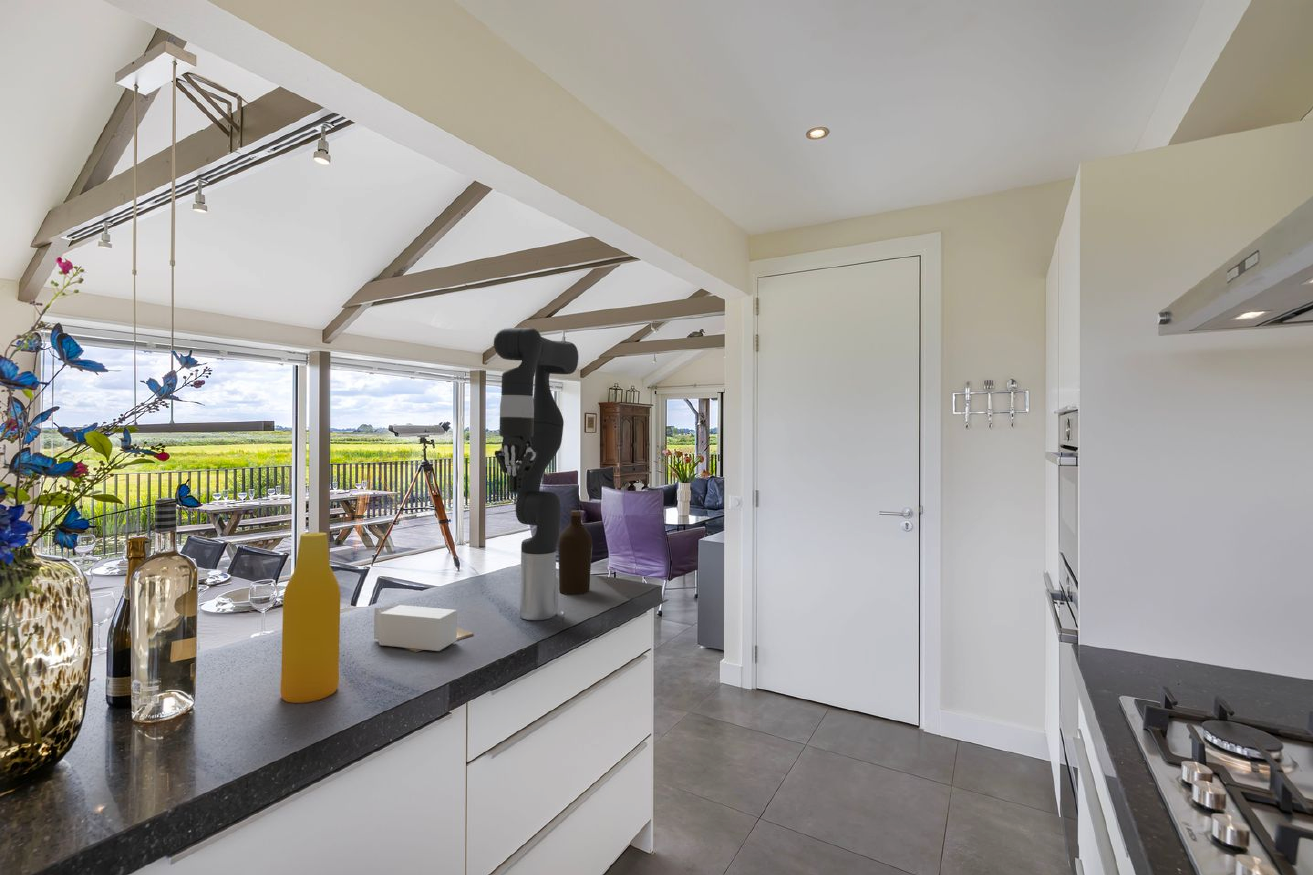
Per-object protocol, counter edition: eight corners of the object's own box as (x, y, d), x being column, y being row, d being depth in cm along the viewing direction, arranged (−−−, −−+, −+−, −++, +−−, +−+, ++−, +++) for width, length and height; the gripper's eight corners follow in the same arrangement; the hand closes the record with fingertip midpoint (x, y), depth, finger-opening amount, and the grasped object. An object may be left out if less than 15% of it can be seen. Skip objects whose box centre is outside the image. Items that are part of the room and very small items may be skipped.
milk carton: (440, 618, 129) (364, 611, 133) (439, 651, 129) (363, 643, 133) (458, 609, 136) (384, 603, 140) (457, 640, 136) (384, 633, 140)
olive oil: (566, 597, 178) (567, 513, 178) (551, 589, 187) (553, 510, 187) (597, 592, 184) (599, 511, 184) (581, 585, 193) (583, 508, 193)
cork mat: (441, 624, 150) (442, 622, 150) (473, 635, 142) (473, 633, 142) (384, 639, 138) (384, 637, 138) (415, 652, 130) (415, 650, 130)
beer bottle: (267, 701, 105) (271, 536, 105) (306, 680, 114) (310, 529, 114) (313, 706, 103) (317, 539, 103) (349, 685, 112) (353, 531, 112)
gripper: (549, 416, 134) (547, 493, 133) (511, 417, 142) (509, 489, 141) (523, 415, 128) (521, 495, 127) (484, 415, 136) (483, 491, 135)
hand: (515, 492), depth 134 cm, fingers closed
